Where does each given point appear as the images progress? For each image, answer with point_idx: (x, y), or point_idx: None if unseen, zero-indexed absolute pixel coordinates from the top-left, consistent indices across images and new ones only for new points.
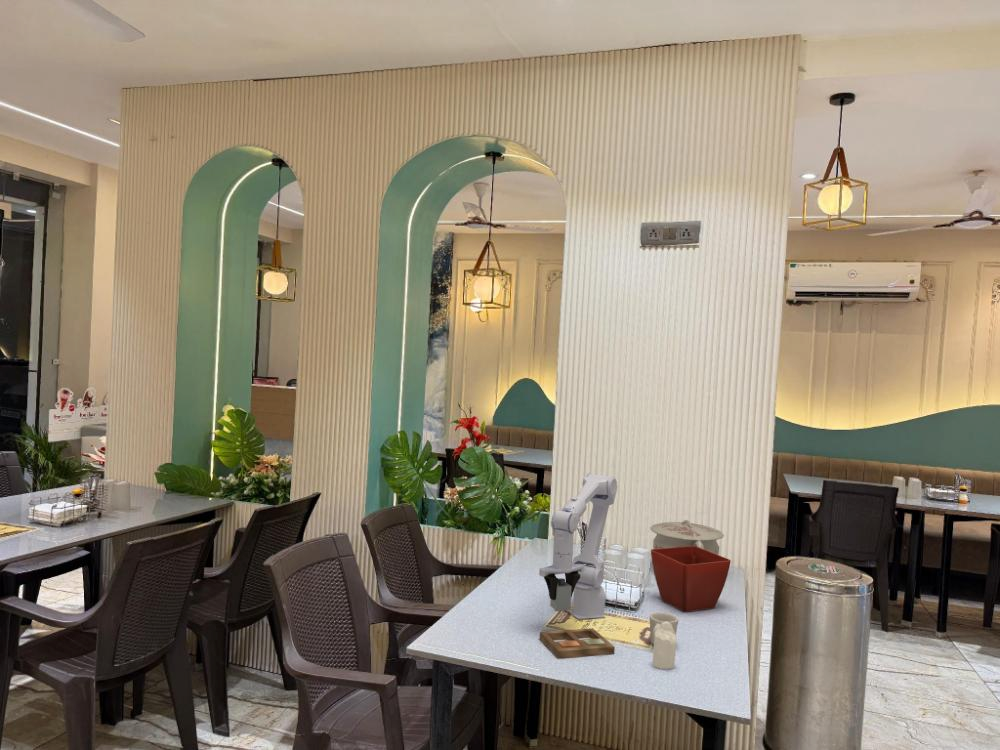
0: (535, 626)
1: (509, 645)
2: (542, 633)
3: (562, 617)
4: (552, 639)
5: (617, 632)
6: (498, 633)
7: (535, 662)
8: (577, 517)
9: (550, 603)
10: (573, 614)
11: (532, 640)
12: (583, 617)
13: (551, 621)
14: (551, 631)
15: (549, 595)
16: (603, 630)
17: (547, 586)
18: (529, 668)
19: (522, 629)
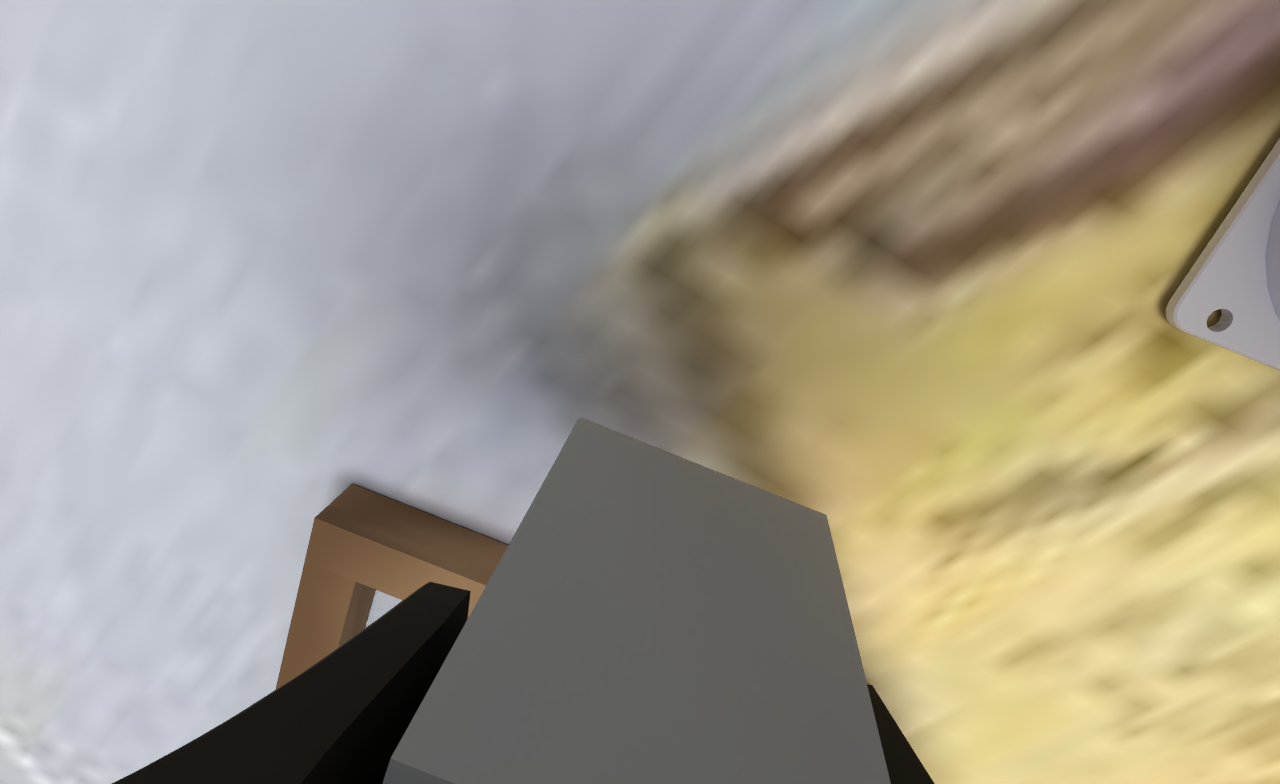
0: (522, 199)
1: (34, 438)
2: (319, 556)
3: (1068, 134)
4: None
5: (1141, 775)
6: (37, 142)
7: (99, 746)
8: None
9: (569, 439)
10: (1255, 188)
11: (276, 469)
12: (1247, 353)
13: (815, 173)
14: (431, 572)
15: (395, 607)
16: (1076, 677)
17: (209, 734)
18: (24, 776)
19: (333, 191)
